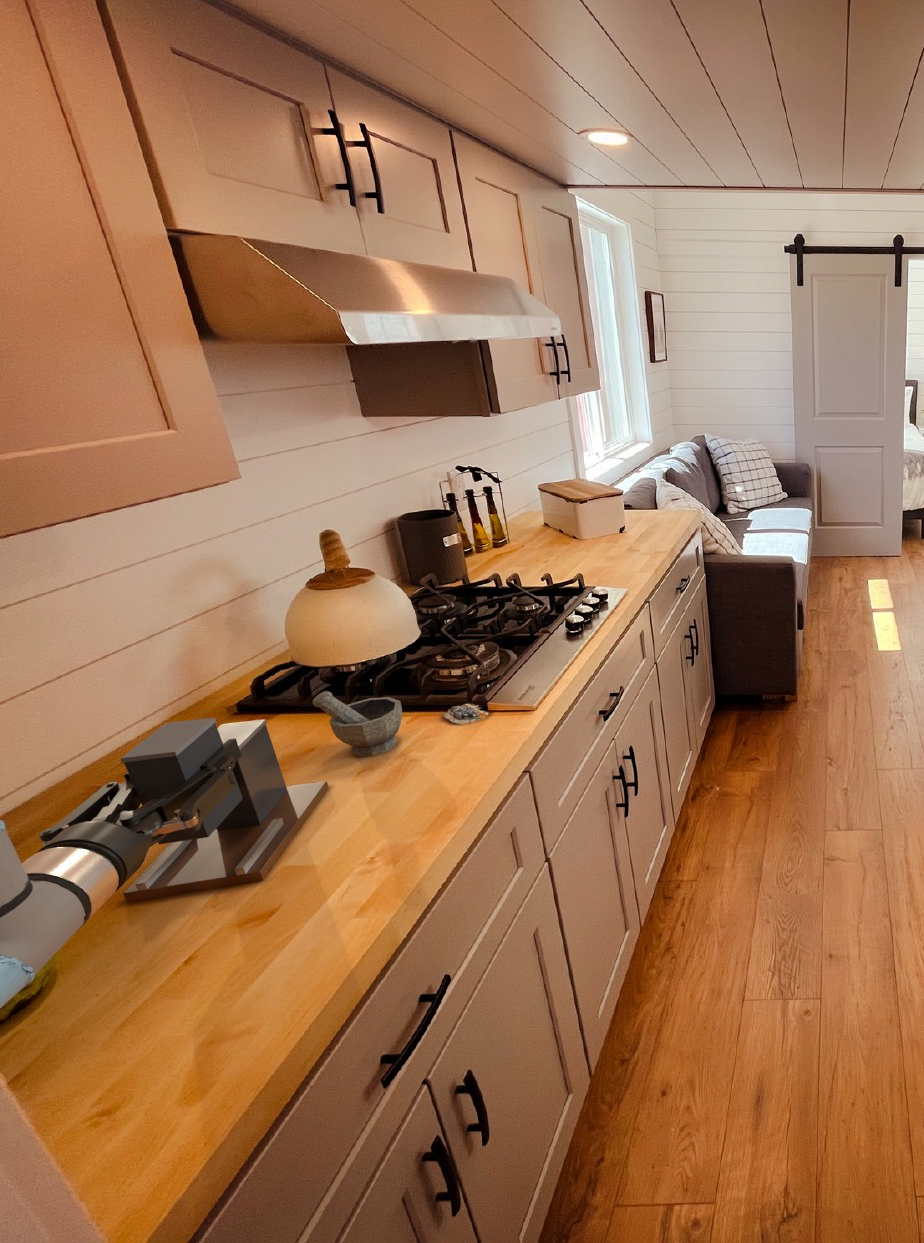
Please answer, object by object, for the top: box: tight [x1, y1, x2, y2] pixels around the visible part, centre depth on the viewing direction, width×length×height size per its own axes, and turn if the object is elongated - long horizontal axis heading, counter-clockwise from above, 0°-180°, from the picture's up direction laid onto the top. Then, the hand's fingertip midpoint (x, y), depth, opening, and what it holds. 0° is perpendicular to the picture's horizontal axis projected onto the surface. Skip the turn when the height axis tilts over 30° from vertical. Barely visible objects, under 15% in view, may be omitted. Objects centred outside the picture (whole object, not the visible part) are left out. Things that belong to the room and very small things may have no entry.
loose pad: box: [119, 717, 243, 845], centre depth 85 cm, size 5×8×12 cm, turn 16°
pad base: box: [122, 719, 330, 903], centre depth 92 cm, size 14×20×14 cm
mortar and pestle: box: [312, 690, 403, 758], centre depth 113 cm, size 11×9×12 cm
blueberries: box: [441, 703, 489, 725], centre depth 126 cm, size 7×8×2 cm
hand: (208, 751), depth 90 cm, fingers closed on loose pad, 5 cm apart
